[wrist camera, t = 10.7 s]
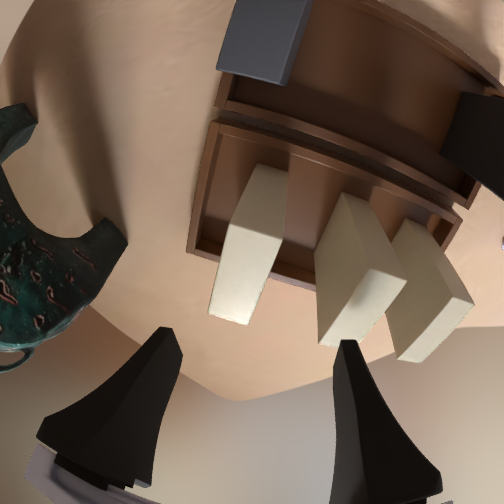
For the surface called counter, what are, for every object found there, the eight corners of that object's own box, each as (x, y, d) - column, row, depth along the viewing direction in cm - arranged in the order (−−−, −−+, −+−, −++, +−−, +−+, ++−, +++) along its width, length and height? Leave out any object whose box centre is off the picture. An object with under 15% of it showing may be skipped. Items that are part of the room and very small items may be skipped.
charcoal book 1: (310, 14, 11) (322, -43, 4) (286, 87, 14) (279, 84, 7) (275, 5, 11) (257, -56, 4) (252, 78, 13) (214, 69, 7)
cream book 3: (426, 226, 17) (475, 304, 10) (393, 279, 20) (420, 363, 13) (405, 217, 17) (453, 296, 10) (373, 272, 20) (396, 359, 13)
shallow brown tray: (451, 208, 16) (463, 220, 14) (394, 299, 21) (399, 315, 20) (218, 117, 15) (210, 120, 14) (193, 238, 21) (185, 252, 19)
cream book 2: (369, 201, 17) (408, 280, 10) (338, 261, 19) (352, 351, 13) (341, 191, 17) (369, 267, 10) (313, 253, 19) (317, 344, 13)
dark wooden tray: (498, 92, 10) (514, 96, 9) (456, 199, 15) (468, 210, 14) (261, -23, 10) (257, -34, 8) (222, 105, 15) (213, 107, 13)
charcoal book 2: (482, 106, 11) (565, 137, 4) (458, 167, 14) (530, 225, 7) (462, 90, 11) (548, 111, 4) (438, 154, 14) (512, 208, 7)
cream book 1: (288, 171, 16) (283, 239, 10) (265, 238, 19) (248, 326, 13) (257, 162, 16) (228, 222, 10) (238, 229, 19) (206, 313, 13)
